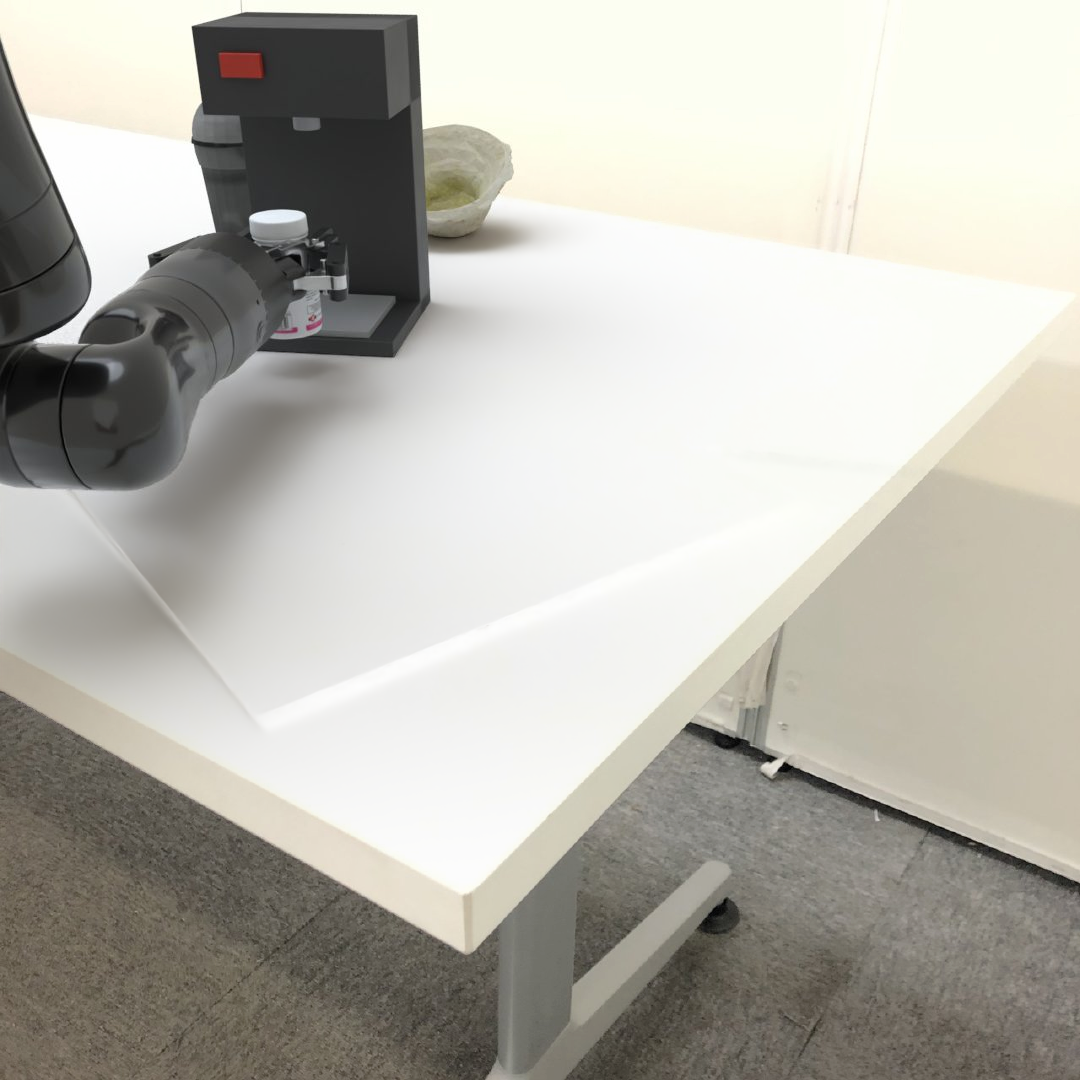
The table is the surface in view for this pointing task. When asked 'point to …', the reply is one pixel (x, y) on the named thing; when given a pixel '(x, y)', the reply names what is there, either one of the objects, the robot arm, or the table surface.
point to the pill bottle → (293, 226)
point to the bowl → (462, 177)
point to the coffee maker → (333, 153)
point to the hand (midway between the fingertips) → (293, 240)
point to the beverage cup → (223, 169)
